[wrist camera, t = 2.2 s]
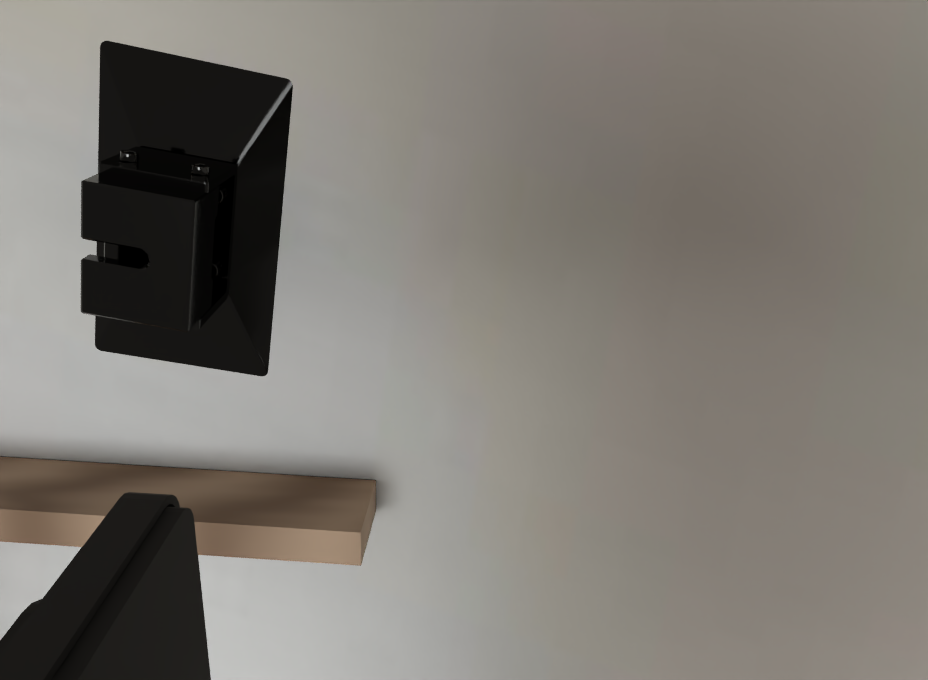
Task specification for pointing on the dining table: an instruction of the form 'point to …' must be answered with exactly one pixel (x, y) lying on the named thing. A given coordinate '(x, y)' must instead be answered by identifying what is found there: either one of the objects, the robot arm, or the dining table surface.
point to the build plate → (185, 209)
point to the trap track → (193, 507)
